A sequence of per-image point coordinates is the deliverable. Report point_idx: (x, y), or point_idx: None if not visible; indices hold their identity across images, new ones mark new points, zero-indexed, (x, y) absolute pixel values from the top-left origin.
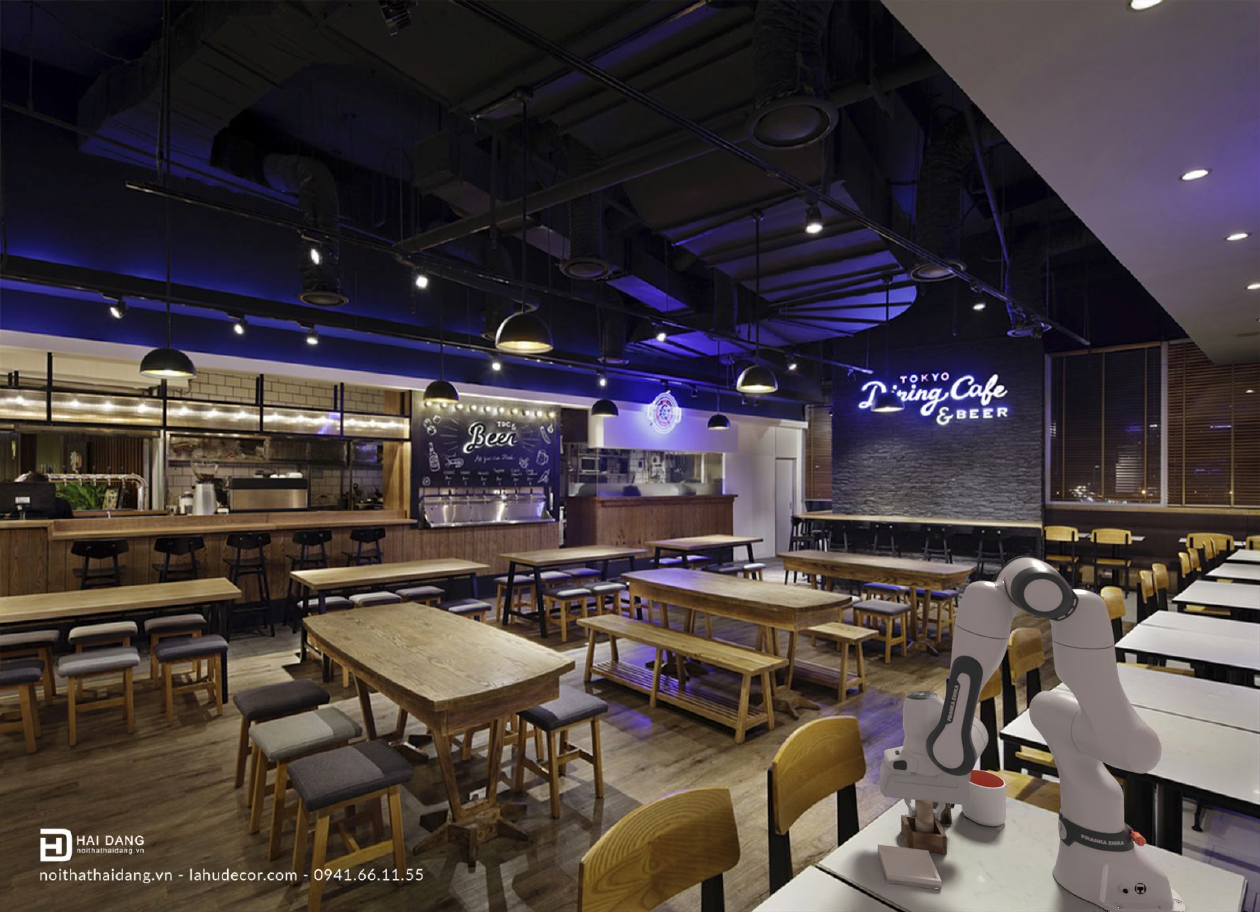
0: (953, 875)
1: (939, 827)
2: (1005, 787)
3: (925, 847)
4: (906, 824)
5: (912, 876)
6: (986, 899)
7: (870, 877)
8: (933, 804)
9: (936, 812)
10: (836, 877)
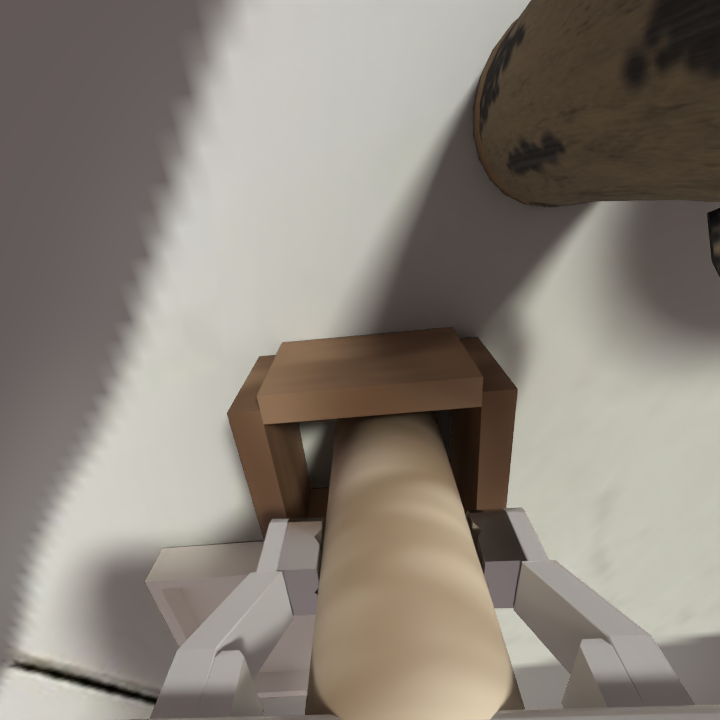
0: None
1: (488, 490)
2: None
3: None
4: (267, 514)
5: (293, 692)
6: (521, 658)
7: (163, 658)
8: (572, 168)
9: (506, 602)
10: (62, 678)
